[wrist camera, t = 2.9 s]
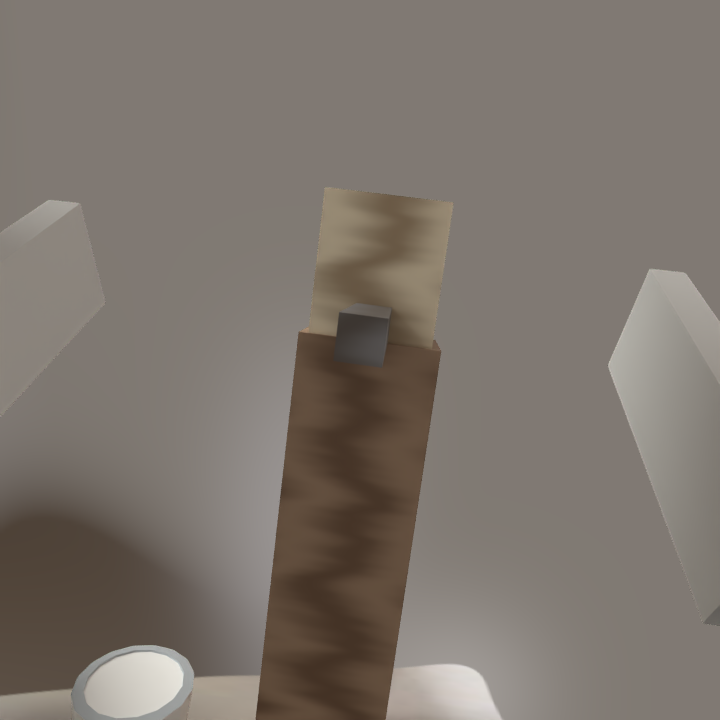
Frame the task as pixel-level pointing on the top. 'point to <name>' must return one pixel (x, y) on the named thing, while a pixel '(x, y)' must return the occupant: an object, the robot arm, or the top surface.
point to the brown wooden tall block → (344, 530)
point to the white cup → (134, 686)
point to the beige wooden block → (378, 272)
